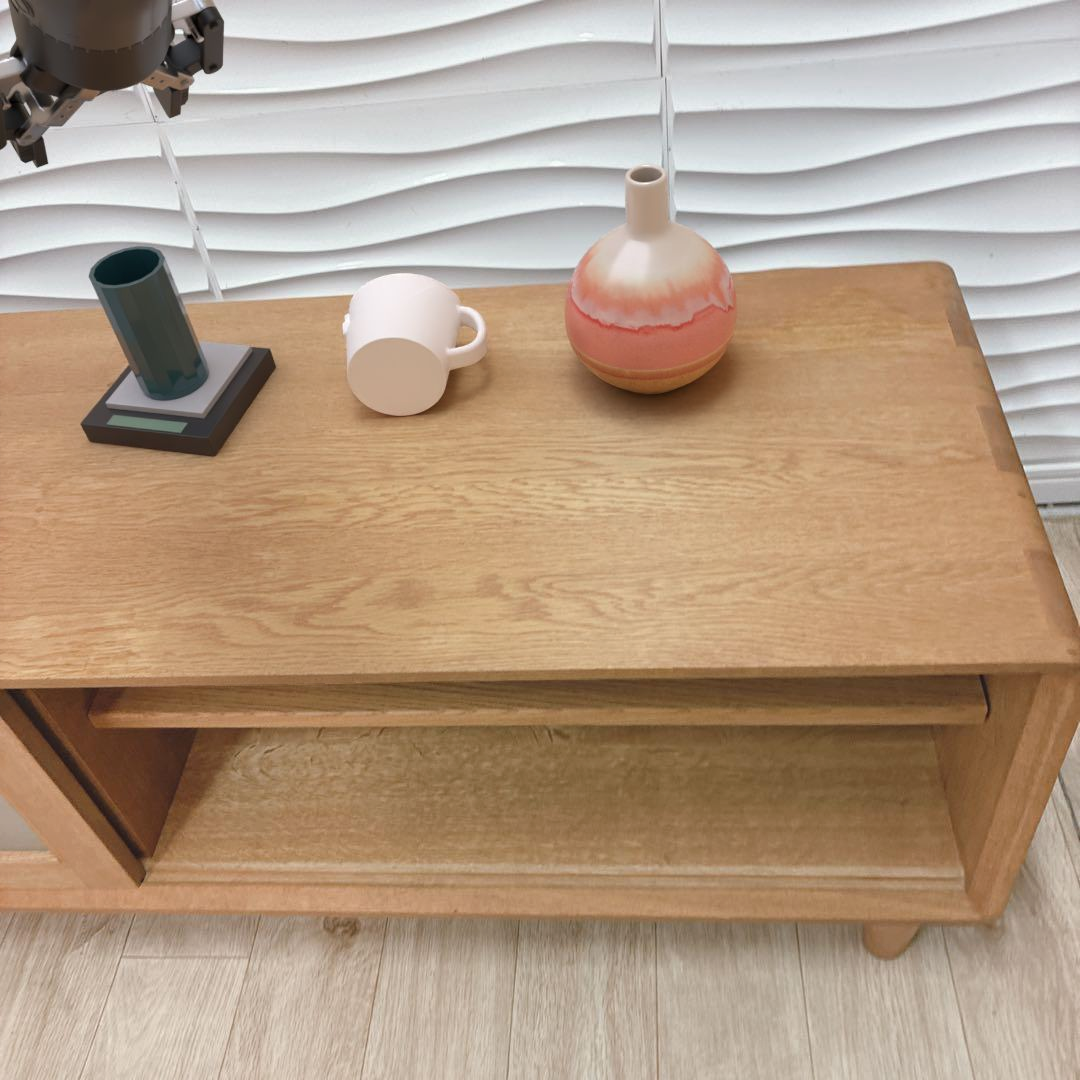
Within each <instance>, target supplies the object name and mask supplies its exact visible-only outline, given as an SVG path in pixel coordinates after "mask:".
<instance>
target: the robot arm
mask: <svg viewBox="0 0 1080 1080" xmlns="http://www.w3.org/2000/svg"><path fill="white" fill-rule="evenodd" d="M7 2H8V7H9V13H10V18H11V22H12V27H13V30H14V35H15V40H14V43H13V44H12V45H11V48H10V51H9V57H6V58H3V59H0V151H1V150H3V149H4V148H6V146H7V145H8V141H9V143H10V144H11V146H12V148H13V150H14V151H15V153H16V154H17V156H18V158H19V160H20V162H22V163H23V164H27V163H31V162H32V163H33V165H34V166H35V168H36V169H37V168H40V167H44V166H47V165H48V164H49V158H48V154H47V149H46V144H45V138H44V137H43V135H44V134H45V133H46V132H47V131H48V129H49V128H50V127H51V128H52V127H53V128H54V127H56V128H57V127H59V128H61V127H63V126H64V125H66V123H67V122H68V121H69V120H70V119H71V118H72V117H73V115H75V113H76V112H77V111H78V110H79V109H80V108H81V107H82V106H83V105H84V103H86V102H89V103H90V102H92V101H93V100H95V99H96V98H97V97H99V96H101V95H103V94H105V93H107V92H113V91H114V92H115V91H120V90H125V89H128V88H131V87H133V86H138V85H139V84H142V85H144V86H147V87H151V88H152V90H153V93H154V95H155V97H156V98H157V100H158V102H159V104H160V106H161V107H162V109H163V111H164V113H165V115H166V116H167V117H168V119H172V118H175V117H178V116H181V113H182V106H184V105H186V103H187V102H188V100H189V93H190V92H189V91H190V87H191V86H192V85H193V84H194V83H195V77H194V75H195V74H197V73H199V72H200V71H203V73H204V74H205V75H213V74H215V73H217V72H219V71H220V70H221V69H222V68H223V67H224V45H225V44H224V42H225V41H224V40H225V39H224V38H225V33H224V32H225V20H224V18H223V16H222V15H221V13H220V11H219V10H218V9H219V8H218V7H217V6H216V4H215V2H214V0H175V1H174V2H173V0H7ZM177 30H181V31H182V33H183V37H184V38H185V39H184V40H182V41H180V42H178V43H175V42H174V39H175V36H176V31H177ZM53 97H55V98H56V99H55V100H54V98H53ZM25 104H26V105H27V107H28V109H29V111H28V109H27V107H26V106H25ZM29 112H30V113H29Z"/></svg>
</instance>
